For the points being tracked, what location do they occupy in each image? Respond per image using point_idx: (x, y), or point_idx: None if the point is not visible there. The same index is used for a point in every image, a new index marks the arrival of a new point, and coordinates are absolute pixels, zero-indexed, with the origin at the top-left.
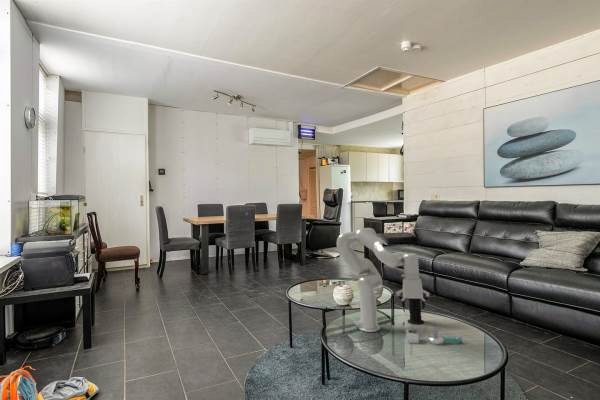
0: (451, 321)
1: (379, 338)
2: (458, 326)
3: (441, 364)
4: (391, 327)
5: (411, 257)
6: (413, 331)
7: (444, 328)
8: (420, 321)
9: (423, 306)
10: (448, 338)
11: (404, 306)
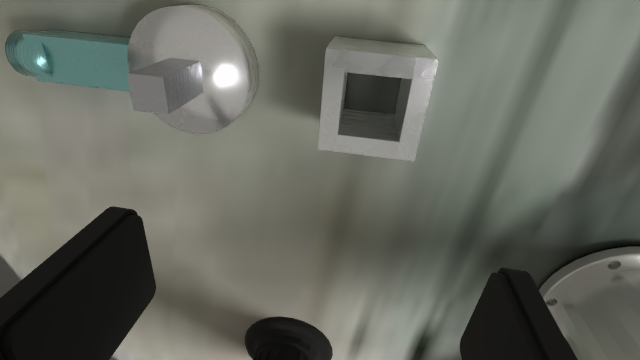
0: None
1: (627, 136)
2: None
3: None
4: (450, 300)
5: None
6: (352, 131)
7: None
8: (263, 339)
9: (79, 240)
10: (96, 49)
11: (526, 303)
